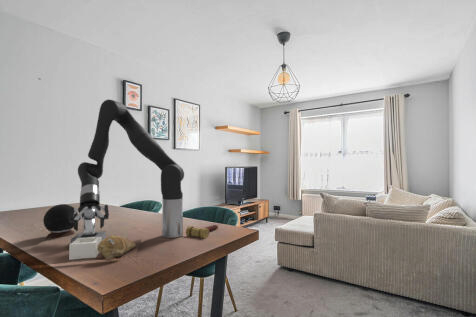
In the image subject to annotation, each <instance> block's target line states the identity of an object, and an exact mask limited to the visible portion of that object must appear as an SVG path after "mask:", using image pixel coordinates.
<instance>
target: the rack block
mask: <svg viewBox="0 0 476 317" xmlns="http://www.w3.org/2000/svg"><path fill="white" fill-rule="evenodd" d="M101 241H102V237H88V238H77V239H76V240H75V241H74V242H72V243H71V242H70V244H69V245H68V246H69V250H68V251H69V253H68V254H69V255H68V256H69V257H68V260H72V261H69V263H79V262H80V263H81V262H91V261H96V260H97V259H96V258H97V256H99V254H101V253H100V252H99V251H98V249H97V248H98V245H99V243H100V242H101ZM93 258H94V259H93ZM81 259H83V260H81ZM73 260H74V261H73Z"/></svg>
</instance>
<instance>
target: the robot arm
mask: <svg viewBox="0 0 476 317" xmlns="http://www.w3.org/2000/svg"><path fill="white" fill-rule="evenodd" d="M113 121H115V122H116V123H117V124H118V125H119V126H120V127H122V128H123V130H124V131H125V133H126V135H127V136H128V140H129V141H130V143H131V145H133V147H134V148H135V149H136V150H137V151H138V152H139V153H140V154H141V155H142V156H143V157H145V158H146V159H147V160H149V161H151V162H152V163H153V164H154V165H156V166H157V167H158V168H159V170H161V172H160V193H161V196H162V199H161V200H162V208H161V211H162V212H161V213H162V214H161V215H162V216H161V218H162V219H161V222H162V224H161V225H162V231H161V233H162V234H161V235H162V236H161V237H162V238H168V239H169V238H170V239H173V238H179V237H184V215H183V213H184V212H183V209H184V208H183V206H184V205H183V204H184V203H183V201H184V198H183V194H184V193H183V192H182V184H181V183H182V181H183V180H184V177H185V172H184V169H183V168H182V167H181V166H180V165H179V164H178V163H177V162H176V161H174V160H173V159H172V157H170V156H169V155H168V154H167V153H166V151H165V150H164V149H163V148H162V146H161V145H160V144H159V143H158V142H157V140H155V138H154V137H153V136H152V135H151V134H150V133H149V132H148V131H147V130H146V129H145V128H144V127H143V126H142V125H141V124H140V123H139V122H138V120H136V119H135V117H134V116H133V115H132V113H131V112H130V111H129V108H127V107H126V106H125V105H124V104H123V103H122V102H119V101H116V100H114V99H105V100H103V101H102V103H101V105H100V107H99V112H98V117H97V121H96V122H97V124H96V128H95V133H94V136H93V140H92V143H91V145H90V148H89V151H88V152H87V153H88V154H87V156H88V158H89V159H91V160H93V161H95V162H96V163H92V162H87V161H84V162H81V163H80V164H79V165H78V167H77V175H78V178H79V180H80V182H81V185H80V186H81V188H80V193H79V194H80V195H79V207H77V208H76V207H73V206H72V207H71V209H70V215H69V222H70V223H71V222H73V223H74V227H73V231H74V230H75V231H76V232H78V231H79V222H80V221H82V220H84V209H89V208H95V218H97V219H99V229H103V227H104V226H105V221H106V220H109V206H108V204H104V206H101V204H100V200H101V194H100V193H101V192H100V180H99V179H100V178H101V177H102V176H103V172H104V160H105V156H106V155H107V154H106V153H107V152H108V148H109V144H110V136H109V135H110V128H111V125H112V123H113ZM101 210H102V211H103V212H104V214H103V213H102V212H101ZM76 212H77V214H78V215H77V216H76V217H75V218H73V216H74V214H75V213H76Z"/></svg>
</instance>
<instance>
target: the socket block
mask: <svg viewBox="0 0 476 317" xmlns="http://www.w3.org/2000/svg"><path fill="white" fill-rule="evenodd" d="M106 232H107V231H106V230H103V231H101V230H99V231H95V236H91V237H102V240H103V239H105V238H107V235H106V234H107V233H106ZM77 238H88V237H84V232H79V233H77V234H76V235H75V236H73V237H72V238H70V244H71V243H72V242H74V241H75V240H76V239H77Z"/></svg>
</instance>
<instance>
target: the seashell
mask: <svg viewBox="0 0 476 317" xmlns="http://www.w3.org/2000/svg"><path fill="white" fill-rule="evenodd" d="M136 245H137V244H136V242H134V241H132V240H130V239H129V238H125V237H124V236H118V235H116V234H115V235H109V236H106V238H105V239H103V240H102V241H101V242H100V243H99V245H98V248H97V249H98V251H99V252H100V253H99V254H101V255H102V256H103V258H104V259H105V260H107V261H110V260H113V259H114V258H115V259H119V258H120V257H122V256H123V255H124V254H126V253H128V252H129V251H131V250H132V249H134V248H135V247H136Z"/></svg>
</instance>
